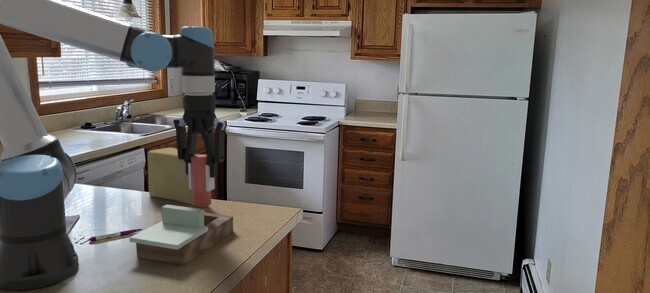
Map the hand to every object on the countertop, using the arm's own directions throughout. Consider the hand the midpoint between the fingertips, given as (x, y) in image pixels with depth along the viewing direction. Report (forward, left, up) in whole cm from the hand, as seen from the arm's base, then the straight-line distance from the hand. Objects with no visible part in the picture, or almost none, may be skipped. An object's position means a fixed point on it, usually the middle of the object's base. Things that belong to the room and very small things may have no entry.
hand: (201, 188), depth 121 cm
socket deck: (-6, 0, -12) cm, 13 cm away
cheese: (+23, +21, -12) cm, 34 cm away
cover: (-13, 0, -8) cm, 15 cm away
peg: (0, 0, -4) cm, 4 cm away
